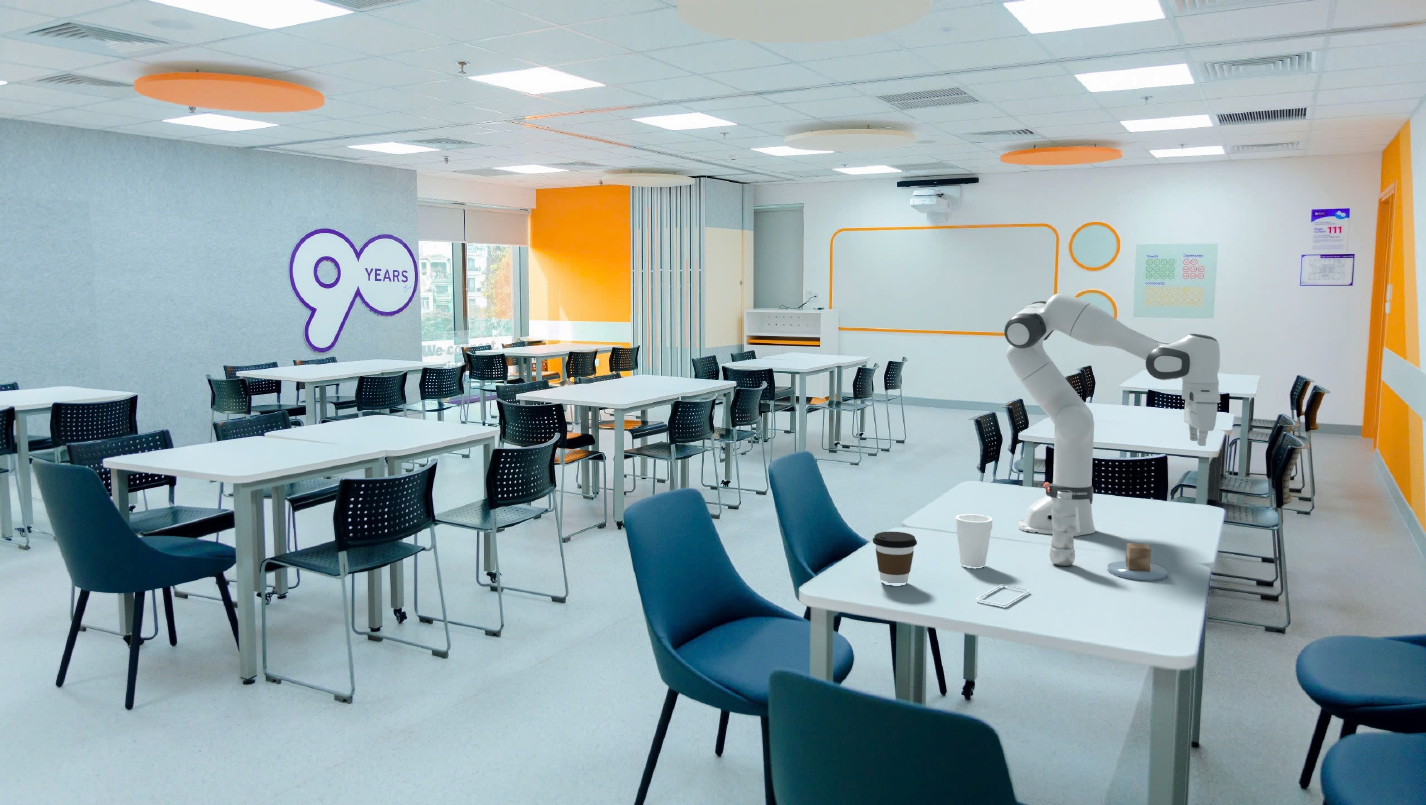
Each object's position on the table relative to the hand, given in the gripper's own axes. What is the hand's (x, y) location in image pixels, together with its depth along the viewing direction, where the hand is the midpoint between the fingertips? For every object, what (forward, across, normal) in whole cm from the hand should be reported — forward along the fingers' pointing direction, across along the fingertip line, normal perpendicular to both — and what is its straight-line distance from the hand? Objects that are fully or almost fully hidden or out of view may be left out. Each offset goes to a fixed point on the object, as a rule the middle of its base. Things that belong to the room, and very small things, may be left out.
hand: (1197, 443), depth 256 cm
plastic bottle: (+31, +22, -36) cm, 52 cm away
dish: (+31, +25, -18) cm, 44 cm away
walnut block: (+30, +25, -18) cm, 43 cm away
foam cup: (+31, +29, -59) cm, 73 cm away
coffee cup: (+31, +50, -78) cm, 98 cm away
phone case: (+32, +55, -52) cm, 82 cm away
